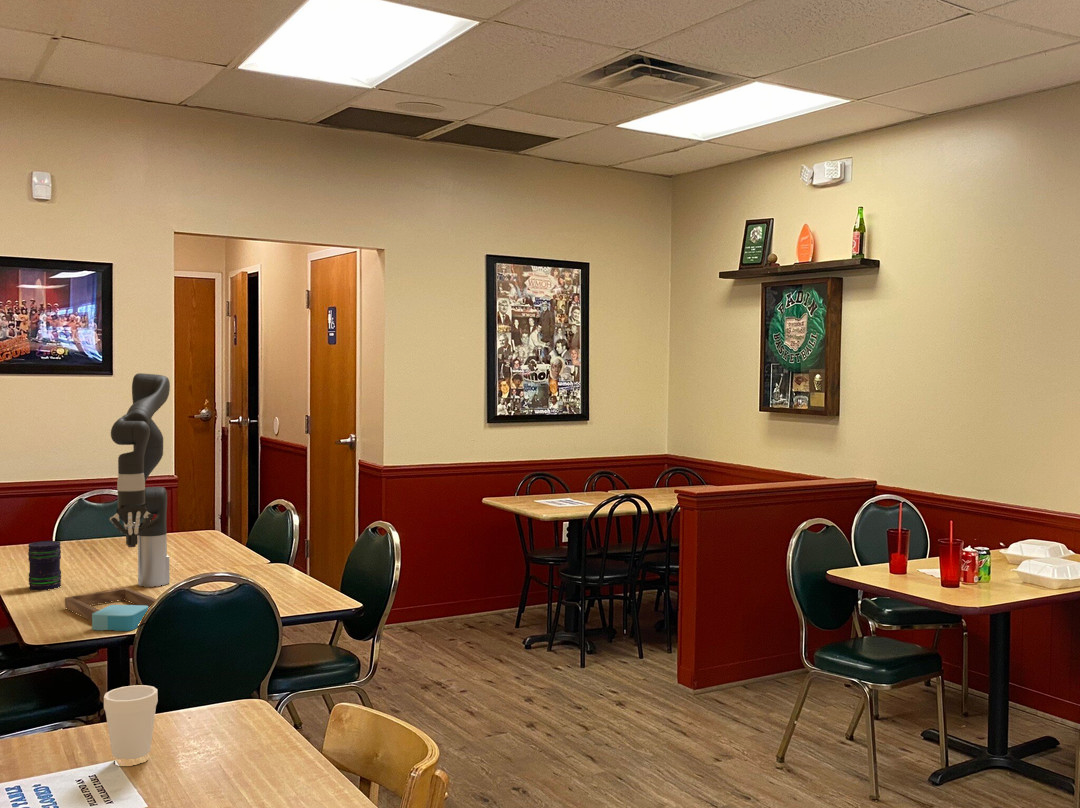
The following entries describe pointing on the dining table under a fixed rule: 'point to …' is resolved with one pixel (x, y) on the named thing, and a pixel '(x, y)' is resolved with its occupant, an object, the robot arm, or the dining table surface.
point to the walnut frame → (104, 600)
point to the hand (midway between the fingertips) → (131, 546)
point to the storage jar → (44, 565)
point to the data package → (118, 617)
